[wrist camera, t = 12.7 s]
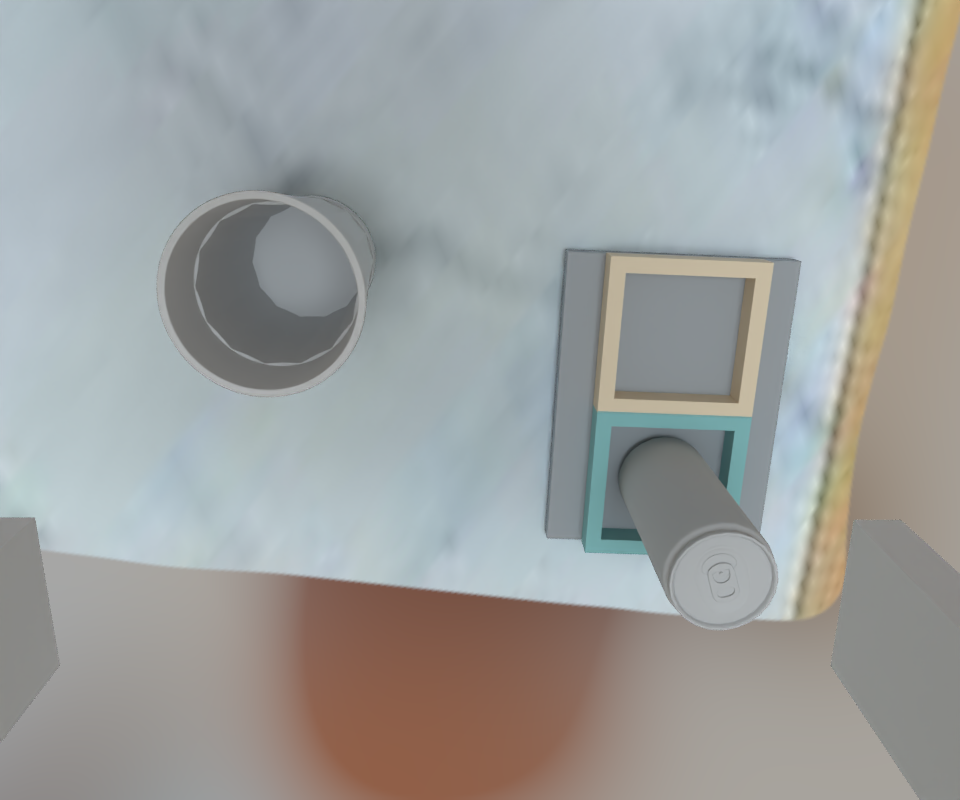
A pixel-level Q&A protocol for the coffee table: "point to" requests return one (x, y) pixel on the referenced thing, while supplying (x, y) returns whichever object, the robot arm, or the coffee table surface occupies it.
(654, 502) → the beverage can
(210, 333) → the cup
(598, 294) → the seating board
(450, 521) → the coffee table surface
